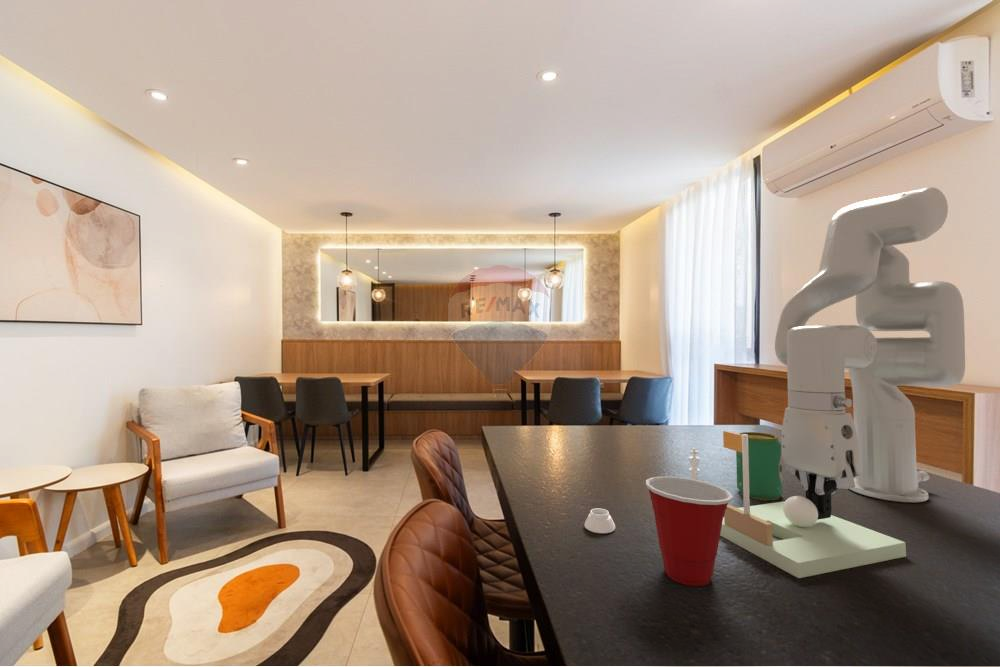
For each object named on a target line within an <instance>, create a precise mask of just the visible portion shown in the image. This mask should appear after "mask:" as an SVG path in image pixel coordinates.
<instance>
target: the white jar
mask: <svg viewBox="0 0 1000 667" xmlns="http://www.w3.org/2000/svg"><path fill="white" fill-rule="evenodd" d="M583 525H584V528H585V529H586V530H588V531H590V532H591V533H594V534H599V535H600V534H603V535H604V534H610V533H612V532H614V531H615V530H616V524H615V522H614V520H613V518H612V516H611V514H610V513H609V510H607V509H605V508H600V507H599V508H597V507H596V508H592V509H590V513H589V514H588V515H587V517H586V519H585V522H584V524H583Z"/></svg>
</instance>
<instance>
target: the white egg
mask: <svg viewBox="0 0 1000 667" xmlns="http://www.w3.org/2000/svg"><path fill="white" fill-rule="evenodd" d="M783 512H784V515H785V517H786V518H787V519H788V520H789V521H790V522H791V523H792V524H794V525H796V526H799V527H809V526H811V525H813V524H814V523H815V522H816V521H817V519H818V511H817V508H816V506H815V505H814V504H813V503H812V502H811V501H810V500H809V499H807V498H806V496H802V495H793V496H789V497H788V498H787V499H786V500H785V502H784V504H783Z"/></svg>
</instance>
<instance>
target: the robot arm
mask: <svg viewBox="0 0 1000 667" xmlns="http://www.w3.org/2000/svg"><path fill="white" fill-rule="evenodd" d="M948 210H949V204H948V201H947V198H946V195H945V194H944V193H943V192H942V191H941V190H940V189H938V188H937V187H934V186H933V187H932V186H930V187H929V186H928V187H923V188H918V189H913V190H910V191H909V190H908V191H904V192H901V193H896V194H892V195H891V194H890V195H887V196H881V197H877V198H871V199H867V200H862V201H859V202H858V201H857V202H855V203H852V204H849V205H847V206H845V207H842V208H841V209H839V210H838V211H837V212H836V213H834V215H833V217H832V218H831V219H830V220H829V223H828V226H827V232H826V236H825V240H824V245H823V250H822V254H821V260H820V264H819V269H818V273H817V274H816V276H814V277H813V278H812V279H810V280H809V281H808V282H807V283H806V284H804V285H803V286H802V287H801V288H800V289H798V290H797V292H796V293H795V294H794V295H792V296H791V298H790V299H789V300H788V301H787V302H786V304H785V305H784V307H783V309H782V311H781V314H780V317H779V322H778V324H777V325H778V326H777V329H776V335H775V340H774V351H775V355H776V358H777V360H778V361H779V362H780V363H781V364H782V365H784V366H786V368H787V369H786V370H787V372H786V373H787V407H786V408H785V409H784V414H783V419H782V425H781V442H780V443H781V458H782V461H783V463H784V464H785V465H784V469H785V471H787V472H788V473H790V474H791V475H793V476H795V477H796V478H797V480H798V481H799V482H800V486H801V489H802V490H804V491H805V498H807V499H809V500H810V501H811V502H812V503H813V504H814V505H815V506H816V508H817V511H818V519H825V518H830V517H831V515H832V494H835V493H836V491H837V490H839V489H844V490H846V489H847V490H850V491H853V492H854V493H857V494H860V495H864V496H867V497H871V498H874V499H879V500H884V501H891V502H896V503H897V502H898V503H899V502H900V503H924V502H926V501H928V500H929V492H928V491H927V490H925V489H923V488H921V487H919V483H920V482H925V481H929V479H930V475H929V474H928V472H927V471H925V470H920V471H918V470H917V469H918V468H917V442H916V440H917V439H916V412H915V407H914V405H913V403H912V401H911V400H910V399H909V398H908V397H907V396H906V395H905V394H904V393H903V392H902V390H900V388H898V386H906V387H907V386H909V387H910V386H911V387H929V388H951V387H955V386H958V385H960V383H961V382H962V380H963V379H964V376H965V370H966V343H965V342H966V340H965V339H966V338H965V308H964V300H963V296H962V293H961V292H960V290H959V288H958V286H956V285H954V284H953V283H951V282H947V281H941V280H940V281H938V280H936V281H925V282H924V281H923V282H913V283H911V280H910V261H909V259H908V257H907V256H906V255H905V254H904V252H902V251H901V250H899V249H898V248H897V247H896V245H898V246H899V245H902V244H903V245H904V244H910V243H916V242H917V243H918V242H922V241H924V240H927V239H929V237H931V236H932V235H933V234H935V233H937V232H938V231H939V230H940V229H941V228H942V227H943V226H944V224H945V223H946V220H947V218H948ZM854 296H855V317H856V321H857V324H858V325H853V324H845V325H843V324H839V325H806V324H807V323H808V321H809V320H810V319H811V318H812V317H813V316H815V315H816V314H817V313H819V312H820V311H822V310H824V309H826V308H829V307H831V306H833V305H835V304H839V303H840V302H843V301H845V300H848V299H850V298H853V297H854ZM916 331H918V332H920V331H921V332H922V331H923V332H927V333H928V334H929V336H930V337H929V336H928V337H927V336H924V337H901V336H900V337H898V336H897V337H875V335H874V334H873V333H872V332H916ZM845 370H846V371H847V370H848V374H849V378H850V385H851V392H852V399H850V398H846V392H845V391H846V389H845V388H846V387H845V386H846V385H845ZM852 404H853V415H852V413H850V412H846V408H851V407H852ZM818 519H817V520H818Z"/></svg>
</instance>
